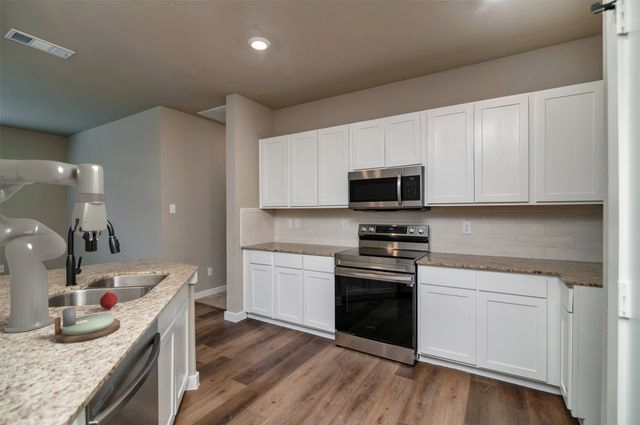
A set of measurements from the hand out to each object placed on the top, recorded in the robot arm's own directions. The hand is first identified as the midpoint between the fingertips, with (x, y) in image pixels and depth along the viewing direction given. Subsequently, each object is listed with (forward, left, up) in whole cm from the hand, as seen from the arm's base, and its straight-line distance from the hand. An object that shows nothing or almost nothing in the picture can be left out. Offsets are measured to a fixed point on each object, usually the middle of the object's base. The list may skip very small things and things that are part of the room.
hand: (91, 251), depth 105 cm
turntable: (+5, -6, -24) cm, 25 cm away
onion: (-7, +15, -26) cm, 31 cm away
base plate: (+5, -6, -26) cm, 27 cm away
